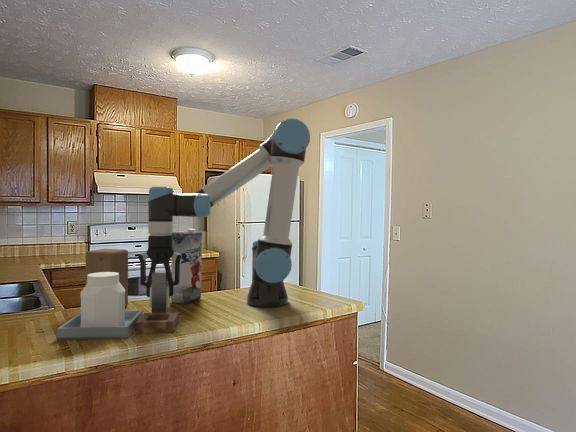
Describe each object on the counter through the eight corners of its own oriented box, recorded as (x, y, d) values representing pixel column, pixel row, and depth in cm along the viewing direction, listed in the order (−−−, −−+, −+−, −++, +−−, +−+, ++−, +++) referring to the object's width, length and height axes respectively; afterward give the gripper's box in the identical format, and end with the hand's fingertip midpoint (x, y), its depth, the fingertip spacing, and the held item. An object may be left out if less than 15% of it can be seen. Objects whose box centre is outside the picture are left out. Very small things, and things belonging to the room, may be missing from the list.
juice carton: (167, 302, 146) (167, 228, 145) (185, 296, 155) (185, 227, 155) (187, 305, 142) (188, 229, 142) (204, 299, 152) (205, 228, 151)
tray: (142, 319, 124) (142, 309, 123) (127, 338, 106) (127, 326, 106) (82, 320, 121) (82, 311, 121) (56, 340, 104) (56, 328, 104)
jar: (120, 319, 121) (120, 270, 121) (128, 327, 113) (129, 274, 113) (77, 325, 114) (77, 273, 114) (83, 334, 106) (83, 278, 106)
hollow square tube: (178, 322, 121) (178, 312, 121) (173, 332, 111) (173, 321, 111) (144, 323, 120) (144, 313, 120) (135, 333, 110) (135, 322, 110)
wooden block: (111, 313, 130) (111, 252, 129) (84, 311, 132) (84, 251, 131) (129, 306, 140) (129, 249, 139) (103, 304, 142) (104, 248, 141)
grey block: (168, 312, 132) (168, 270, 131) (165, 316, 127) (166, 272, 127) (154, 313, 131) (154, 270, 131) (151, 316, 127) (151, 272, 126)
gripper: (189, 234, 134) (189, 303, 134) (135, 233, 131) (134, 304, 132) (186, 235, 126) (186, 309, 127) (129, 235, 124) (128, 310, 124)
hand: (160, 306), depth 129 cm, fingers closed on grey block, 4 cm apart
